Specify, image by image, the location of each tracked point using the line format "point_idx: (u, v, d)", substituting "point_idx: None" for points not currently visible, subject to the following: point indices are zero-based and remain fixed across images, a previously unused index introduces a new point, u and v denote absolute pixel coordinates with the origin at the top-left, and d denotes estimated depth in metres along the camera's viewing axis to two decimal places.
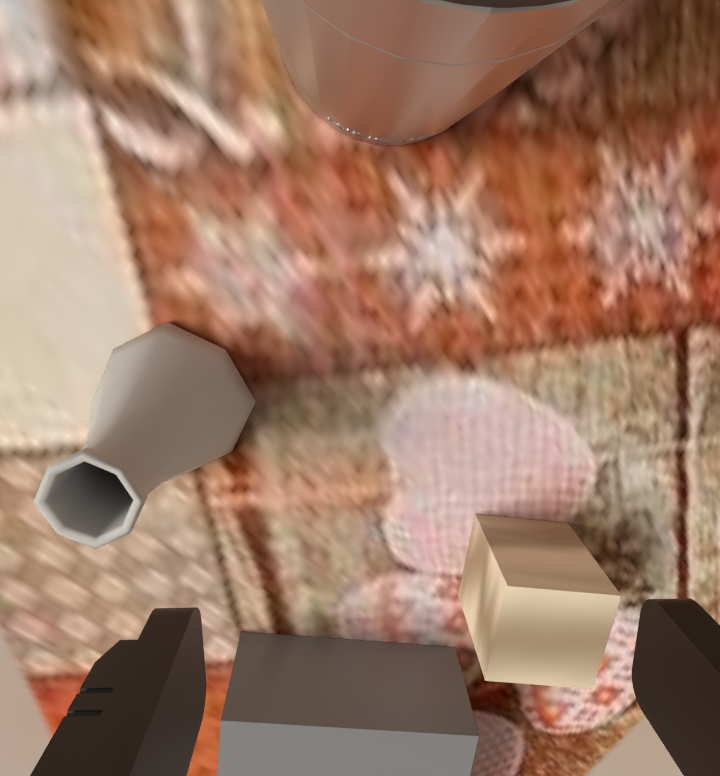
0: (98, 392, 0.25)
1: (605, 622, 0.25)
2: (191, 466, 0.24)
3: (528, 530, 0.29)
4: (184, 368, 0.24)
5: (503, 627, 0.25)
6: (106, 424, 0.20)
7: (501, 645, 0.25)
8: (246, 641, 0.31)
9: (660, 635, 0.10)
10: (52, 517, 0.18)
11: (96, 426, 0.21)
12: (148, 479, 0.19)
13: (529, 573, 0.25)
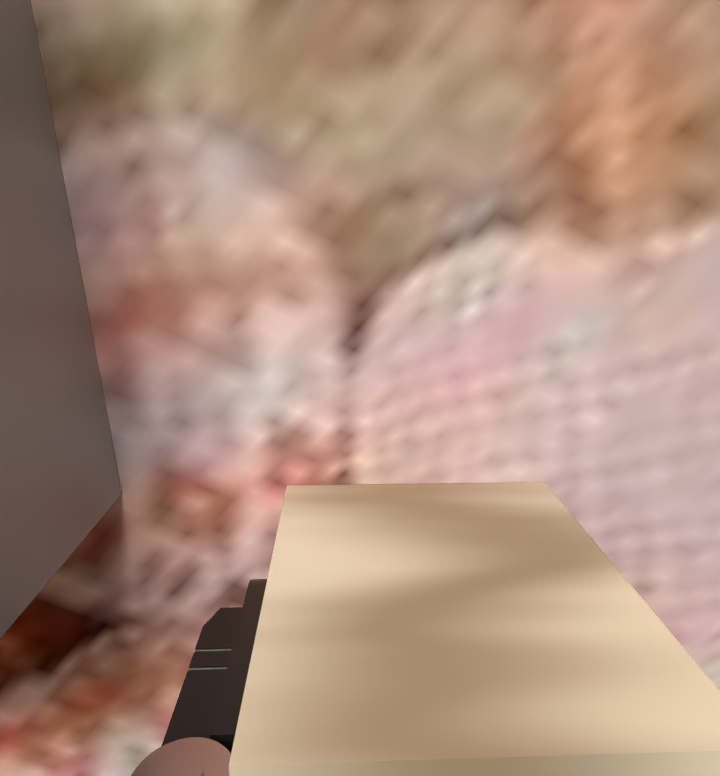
0: None
1: None
2: None
3: None
4: None
5: (546, 775, 0.05)
6: None
7: None
8: None
9: None
10: None
11: None
12: None
13: None
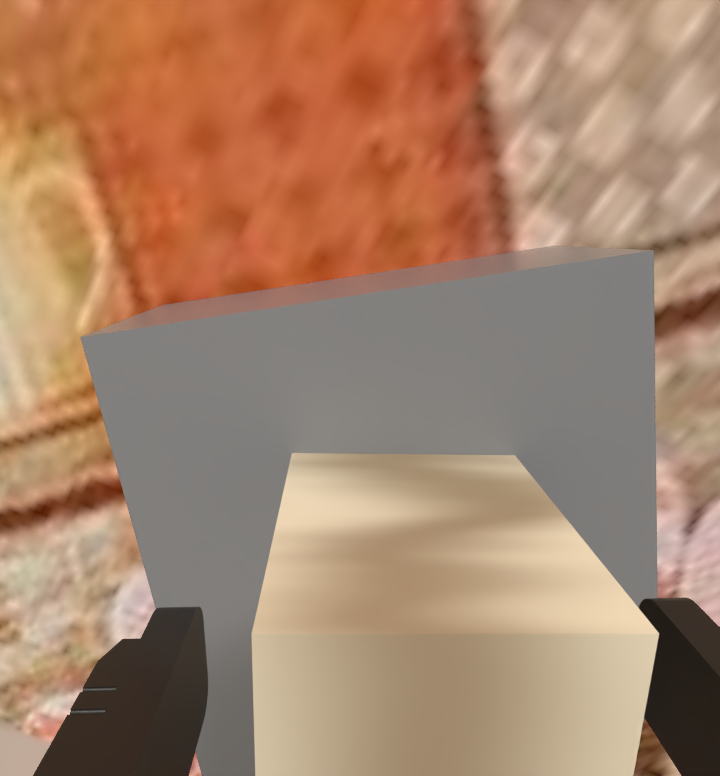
0: None
1: None
2: None
3: None
4: None
5: (490, 649, 0.07)
6: None
7: (412, 659, 0.07)
8: None
9: None
10: None
11: None
12: None
13: None
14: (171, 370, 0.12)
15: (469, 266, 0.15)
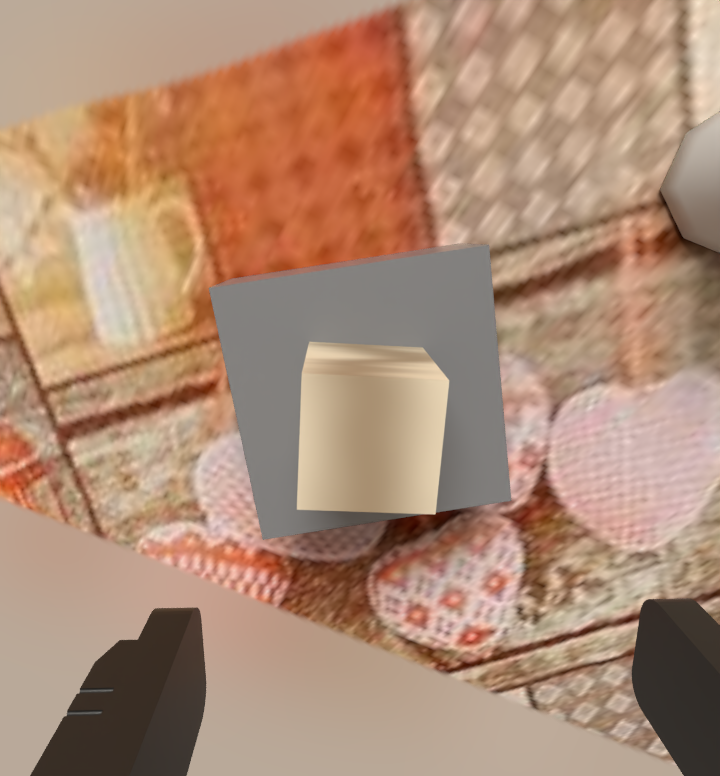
0: None
1: (397, 505, 0.20)
2: None
3: None
4: None
5: (388, 384, 0.19)
6: None
7: (359, 386, 0.19)
8: None
9: (660, 635, 0.10)
10: None
11: None
12: None
13: None
14: (252, 305, 0.24)
15: (405, 254, 0.27)
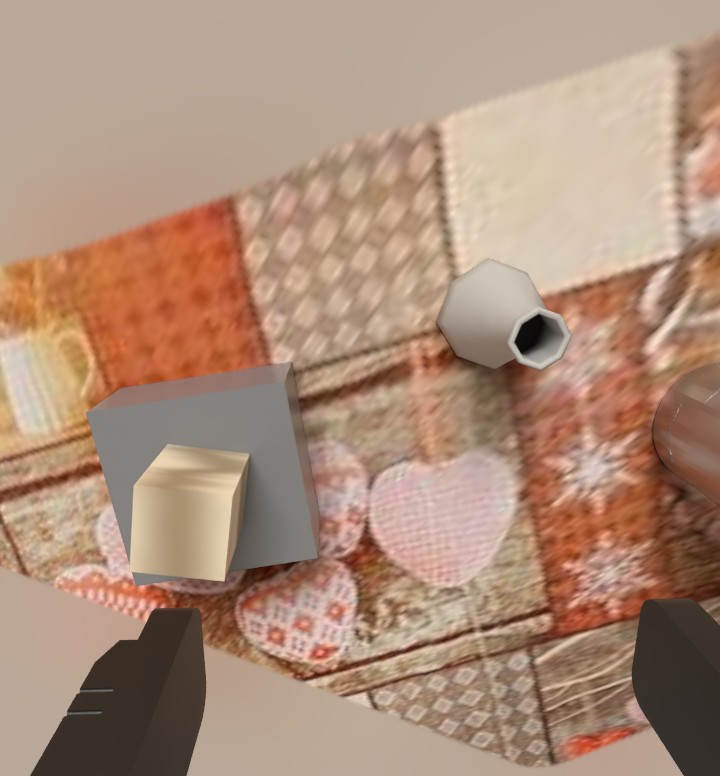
0: (508, 271, 0.37)
1: (197, 573, 0.30)
2: (485, 352, 0.36)
3: (243, 499, 0.35)
4: (537, 335, 0.37)
5: (191, 496, 0.29)
6: (544, 318, 0.33)
7: (172, 496, 0.29)
8: (291, 369, 0.39)
9: (660, 635, 0.10)
10: (529, 318, 0.29)
11: None
12: (532, 359, 0.31)
13: (233, 509, 0.31)
14: (117, 423, 0.34)
15: (239, 378, 0.37)
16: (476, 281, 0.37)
